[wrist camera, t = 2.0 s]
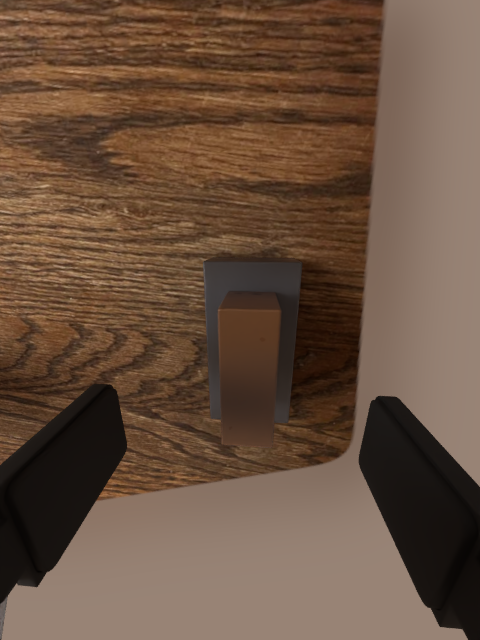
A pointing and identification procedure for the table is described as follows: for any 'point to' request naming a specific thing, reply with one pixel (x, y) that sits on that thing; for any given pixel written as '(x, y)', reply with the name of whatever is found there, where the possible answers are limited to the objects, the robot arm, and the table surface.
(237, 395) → the eraser
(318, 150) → the table surface
